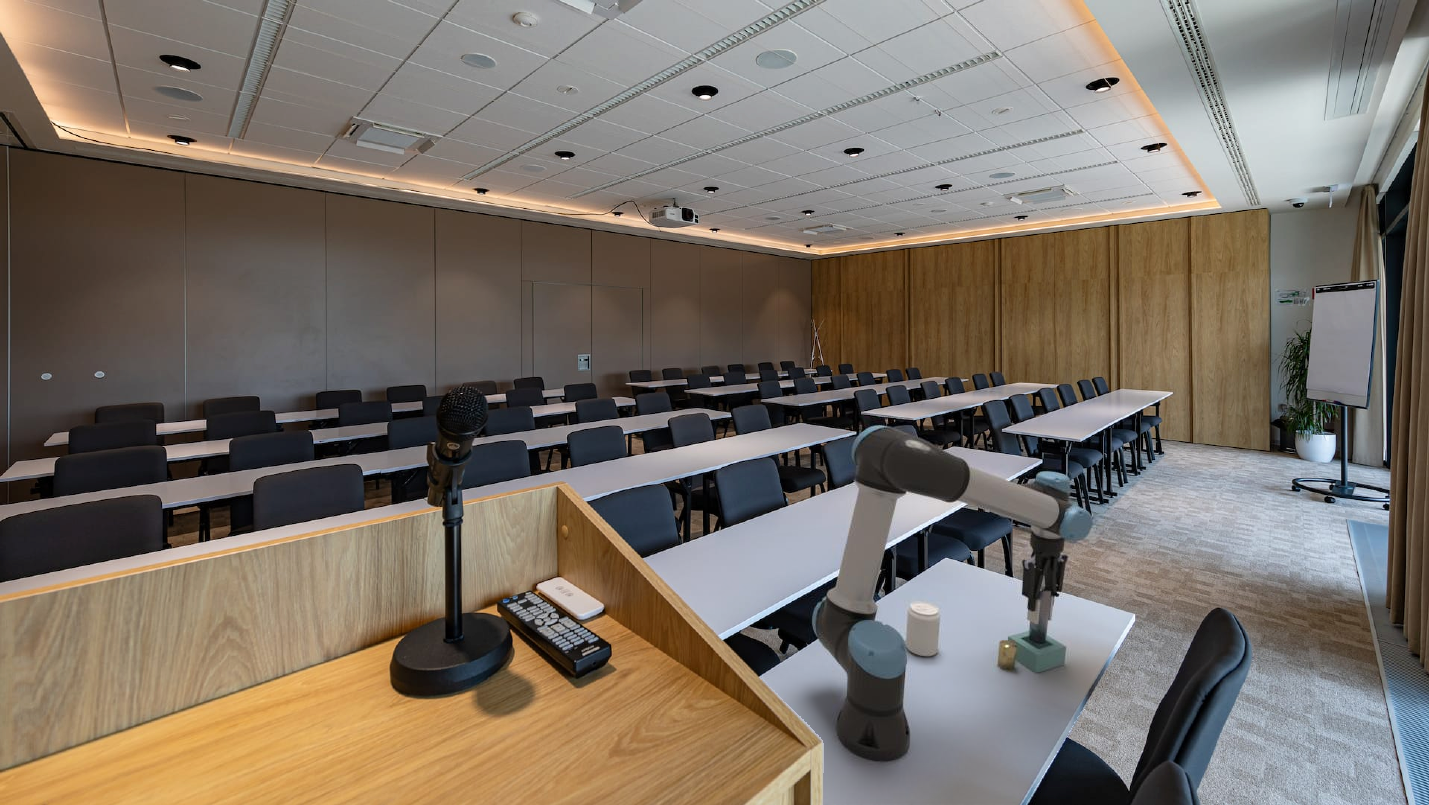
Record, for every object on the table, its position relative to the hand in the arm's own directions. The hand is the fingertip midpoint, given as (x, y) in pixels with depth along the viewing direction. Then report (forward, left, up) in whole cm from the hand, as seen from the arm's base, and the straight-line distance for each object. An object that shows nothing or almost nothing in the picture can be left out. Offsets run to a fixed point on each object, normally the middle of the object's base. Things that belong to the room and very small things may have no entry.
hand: (1039, 619), depth 156 cm
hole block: (0, 0, -11) cm, 11 cm away
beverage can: (-25, +15, -11) cm, 31 cm away
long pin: (0, 0, -6) cm, 6 cm away
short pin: (-10, +1, -11) cm, 15 cm away
